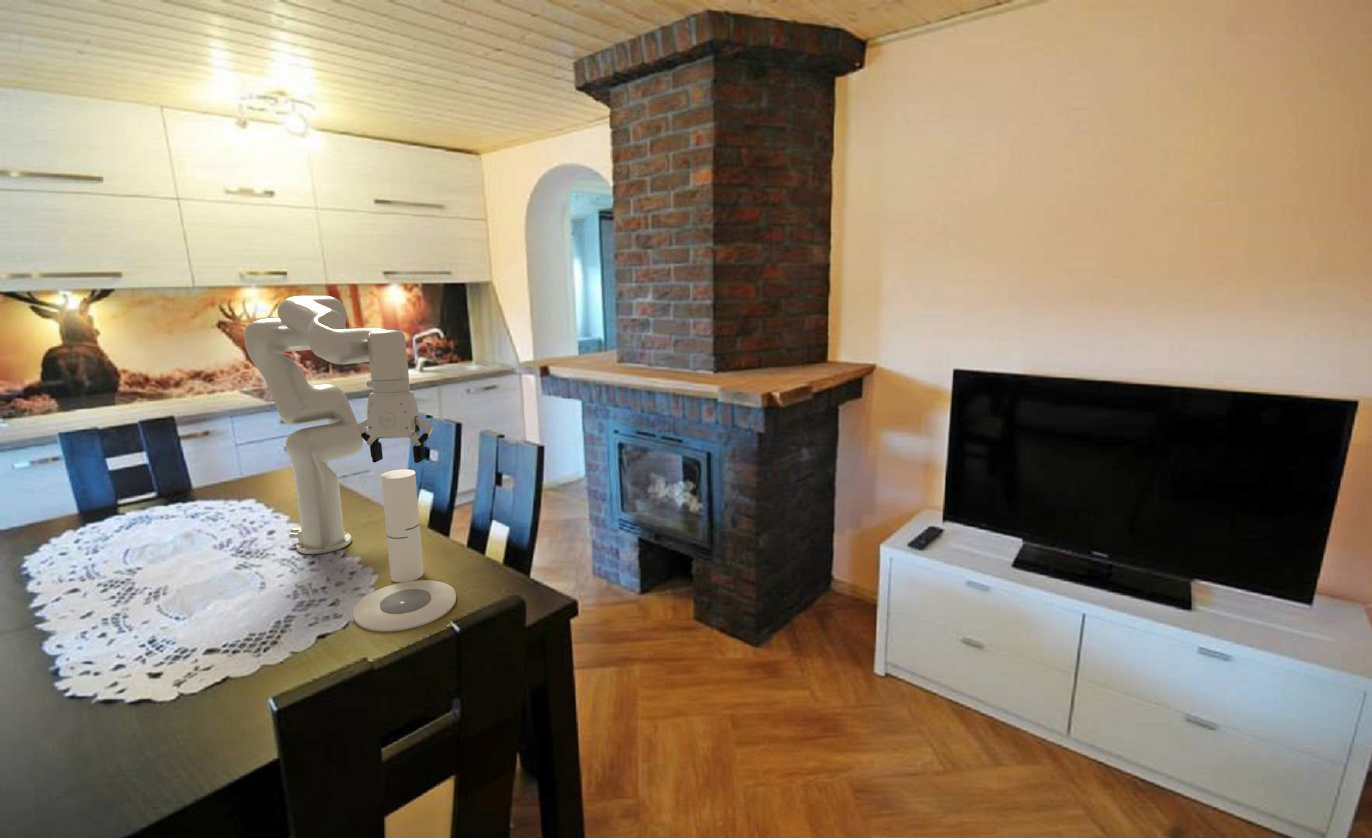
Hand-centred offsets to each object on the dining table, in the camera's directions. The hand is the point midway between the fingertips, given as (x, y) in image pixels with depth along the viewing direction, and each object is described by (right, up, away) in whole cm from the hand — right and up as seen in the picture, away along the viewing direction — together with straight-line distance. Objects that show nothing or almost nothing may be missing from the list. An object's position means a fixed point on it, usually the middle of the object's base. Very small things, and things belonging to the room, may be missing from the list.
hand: (398, 461), depth 140 cm
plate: (+5, -30, -8) cm, 32 cm away
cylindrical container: (-1, -28, +6) cm, 28 cm away
